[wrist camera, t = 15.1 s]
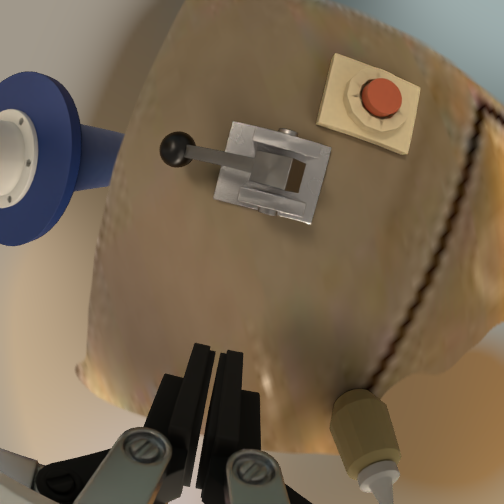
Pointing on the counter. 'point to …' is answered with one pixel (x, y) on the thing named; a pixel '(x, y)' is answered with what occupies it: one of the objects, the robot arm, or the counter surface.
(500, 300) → the counter surface
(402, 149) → the control block
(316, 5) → the counter surface
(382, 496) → the squeeze bottle
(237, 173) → the bracket
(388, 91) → the button
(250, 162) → the lever
